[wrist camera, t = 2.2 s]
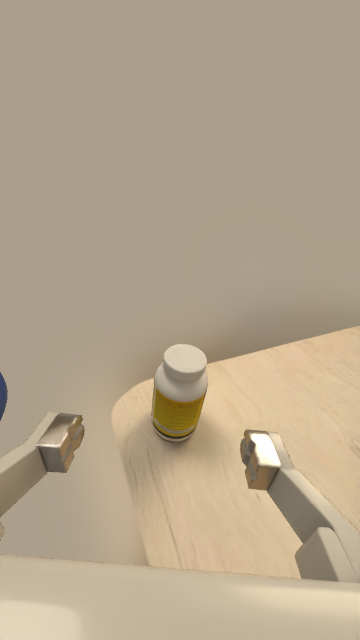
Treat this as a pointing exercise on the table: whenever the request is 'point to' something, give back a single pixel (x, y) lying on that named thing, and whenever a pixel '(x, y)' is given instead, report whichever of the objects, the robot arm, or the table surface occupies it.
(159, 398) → the pill bottle
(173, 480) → the table surface
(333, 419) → the table surface
